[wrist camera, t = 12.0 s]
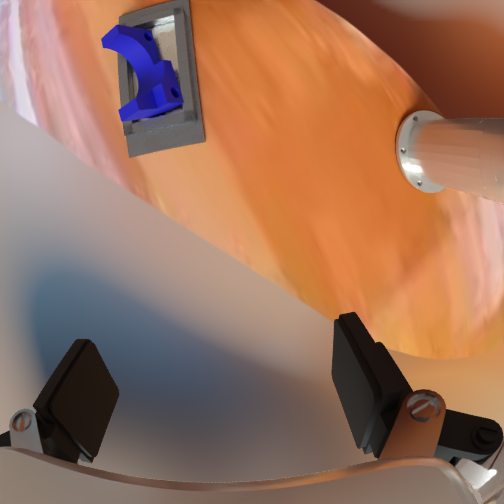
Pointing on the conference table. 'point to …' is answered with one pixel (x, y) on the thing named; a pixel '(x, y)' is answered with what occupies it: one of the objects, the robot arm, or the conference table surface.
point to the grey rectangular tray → (183, 61)
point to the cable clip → (145, 73)
